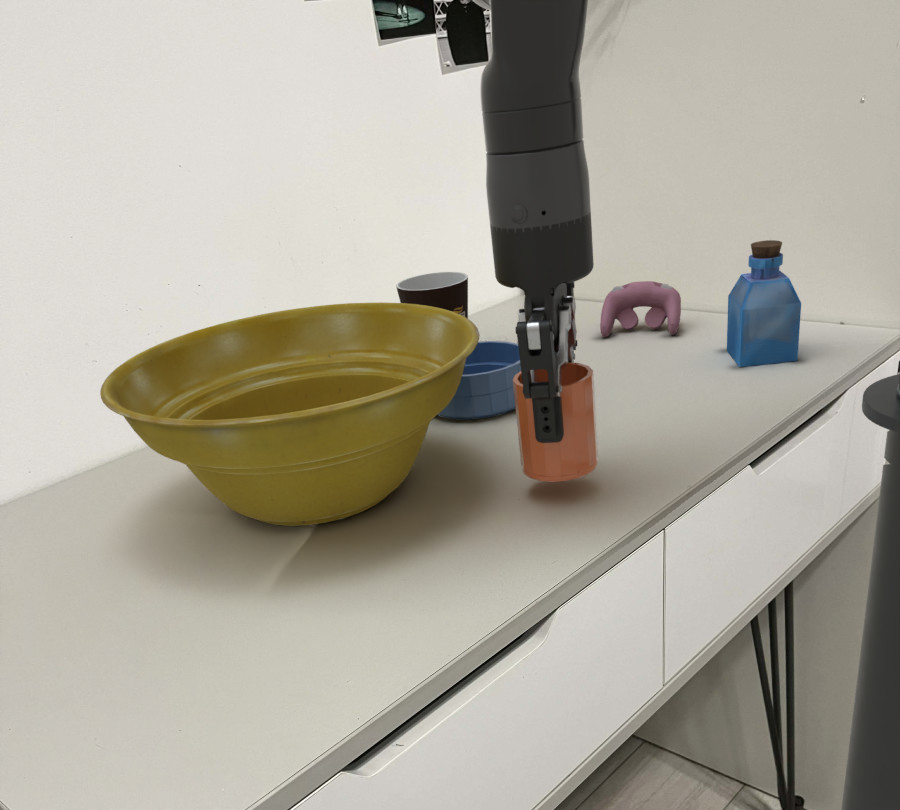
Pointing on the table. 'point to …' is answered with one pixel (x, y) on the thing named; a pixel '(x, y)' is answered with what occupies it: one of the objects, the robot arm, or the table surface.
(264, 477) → the planter bowl
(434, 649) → the table surface
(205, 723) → the table surface
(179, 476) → the table surface
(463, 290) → the coffee mug
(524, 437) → the cup
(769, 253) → the perfume bottle
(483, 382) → the bowl
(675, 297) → the video game controller
